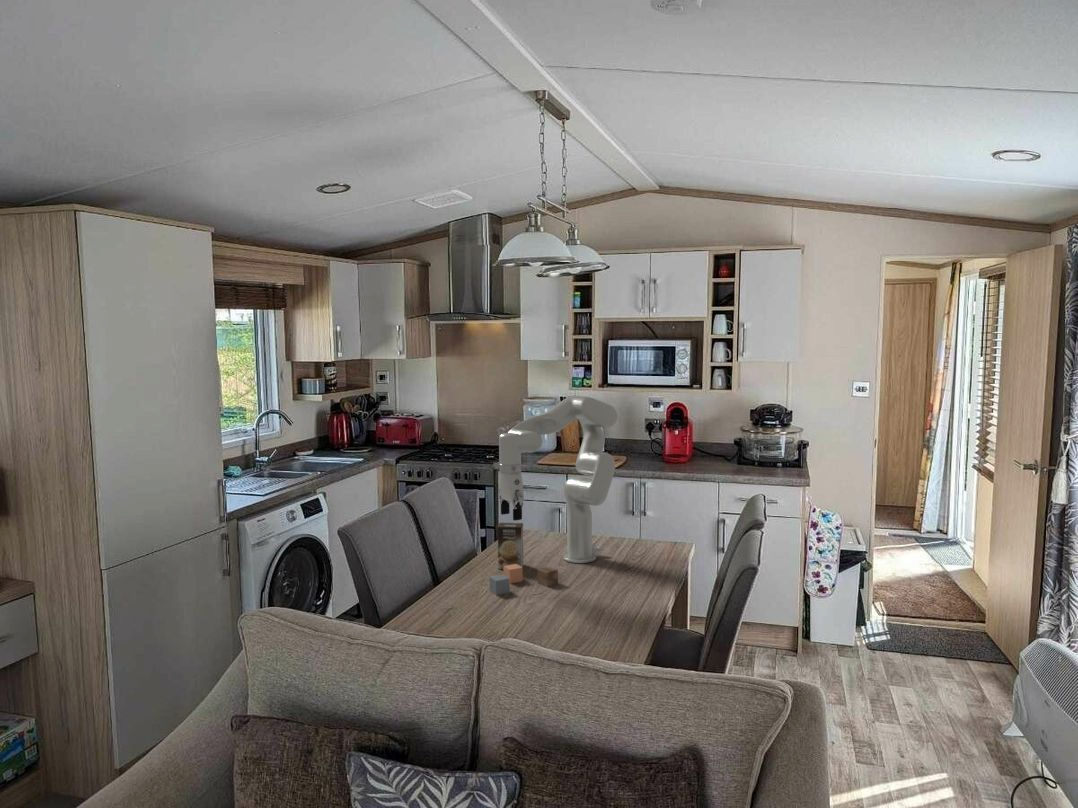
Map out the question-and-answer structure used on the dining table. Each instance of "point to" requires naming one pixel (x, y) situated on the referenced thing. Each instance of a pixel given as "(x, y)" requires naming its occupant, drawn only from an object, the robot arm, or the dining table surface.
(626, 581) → the dining table surface
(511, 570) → the rust block
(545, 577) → the walnut block
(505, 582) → the slate block
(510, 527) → the coffee box
